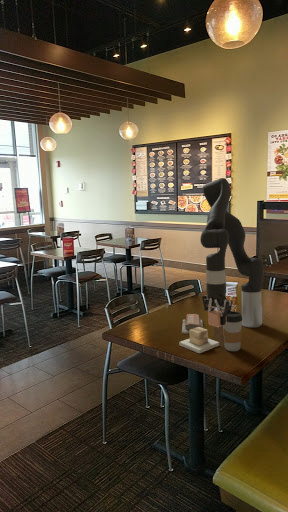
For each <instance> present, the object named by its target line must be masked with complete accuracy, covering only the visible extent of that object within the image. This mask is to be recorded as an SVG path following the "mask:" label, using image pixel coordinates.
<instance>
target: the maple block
mask: <svg viewBox="0 0 288 512" xmlns="http://www.w3.org/2000/svg"><path fill="white" fill-rule="evenodd" d="M208 331H209V330H208V329H206V328H204V327H203V328H201V327H196V328H193V329H190V330H189V333H190V334H189V338H190V342H191V343H193V344H196V345H202V344H205V343H207V342H208V338H209V332H208Z"/></svg>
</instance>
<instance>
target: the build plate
mask: <svg viewBox="0 0 288 512" xmlns="http://www.w3.org/2000/svg"><path fill="white" fill-rule="evenodd" d="M178 343H179V346H180V347H182V348H185V349H186V350H190V351H193V352H194V353H197V354H201V353H204V352H206V351H209V350H211V349H212V350H213V349H214V348H217V347H220V342H219V341H216V340H213V339H211V338H209V337H208V342H207V343H205V344H202V345H196V344H193V343H191V342H190V337H189V338H187V339H184V340H181V341H179V342H178Z"/></svg>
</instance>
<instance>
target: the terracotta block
mask: <svg viewBox="0 0 288 512" xmlns="http://www.w3.org/2000/svg"><path fill="white" fill-rule="evenodd" d="M222 312H223V310H222ZM207 321H208V322H207V323H208V325H209V326H212V327H215V328H221V327H223V326H224V325H223V326H222V325H220V313H219V311H218V309H214V310H213V311H210V312H208V311H207ZM226 324H227V320H226ZM226 324H225V325H226Z"/></svg>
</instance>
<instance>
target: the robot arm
mask: <svg viewBox="0 0 288 512" xmlns="http://www.w3.org/2000/svg"><path fill="white" fill-rule="evenodd" d="M202 192H203V195H204V198H205V200H206V201H207V203H208V205H209V207H210V209H209V210H208V213H207V216H206V217H207V220H206V225H205V227H204V229H202V232H201V235H200V244H201V246H202V247H203V248H205V249H219V250H218V251H217V252H215V253H211V254H208V255H207V256H206V258H205V261H206V262H205V264H206V274H205V280H206V281H205V283H206V293H207V294H205V295H202V296H201V300H202V304H203V309H204V311H207V313H208V312H210V311H213V310H218V311H219V313H220V325H222V326H221V327H223V325H225V324H226V316H227V315H229V314H230V313H231V311H232V306H233V300H232V299H230V300H229V299H227V297H226V293H227V274H226V263H225V262H226V252H227V248H228V247H229V249H230V251H231V254H232V256H233V259H234V263H235V266H236V269H237V271H238V273H239V274H240V275H242V276H245V277H248V282H244V283H242V284H241V289H240V290H241V316H242V319H243V320H242V327H245V328H260V327H261V326H262V324H263V304H262V287H263V285H264V284H263V283H264V263H263V261H262V260H261V258H256V257H251V256H248V254H247V252H246V250H245V241H246V232H245V229H244V227H243V224H242V221H241V220H240V219H239V218H238V217H236V216H235V215H233V214H231V213H230V212H229V211H227V209H228V206H229V204H230V199H231V195H232V189H231V185H230V182H229V181H228V179H226V178H224V177H221V178H218V179H214V180H212V181H210V182H207V183H205V184H203V186H202ZM215 308H217V309H215ZM222 311H223V312H222Z"/></svg>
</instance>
